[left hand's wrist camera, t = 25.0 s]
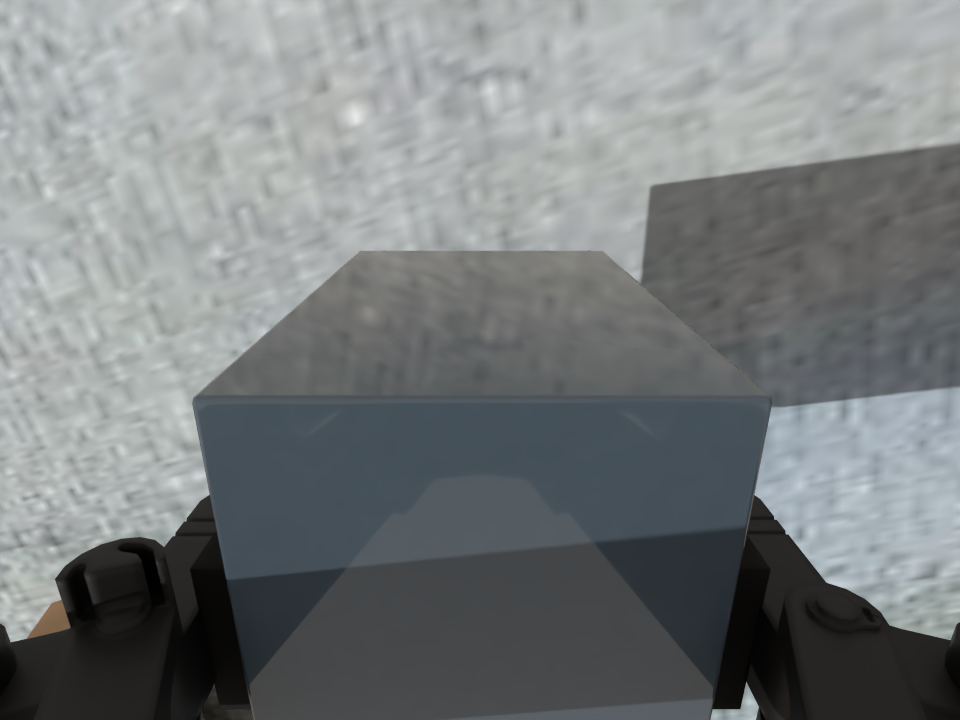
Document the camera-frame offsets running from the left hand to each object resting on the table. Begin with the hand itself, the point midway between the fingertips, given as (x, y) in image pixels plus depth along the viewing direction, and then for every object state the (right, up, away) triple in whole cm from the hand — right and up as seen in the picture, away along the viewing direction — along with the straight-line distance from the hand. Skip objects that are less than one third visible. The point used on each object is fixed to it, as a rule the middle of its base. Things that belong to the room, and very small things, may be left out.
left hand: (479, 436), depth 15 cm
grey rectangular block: (0, +1, +3) cm, 3 cm away
